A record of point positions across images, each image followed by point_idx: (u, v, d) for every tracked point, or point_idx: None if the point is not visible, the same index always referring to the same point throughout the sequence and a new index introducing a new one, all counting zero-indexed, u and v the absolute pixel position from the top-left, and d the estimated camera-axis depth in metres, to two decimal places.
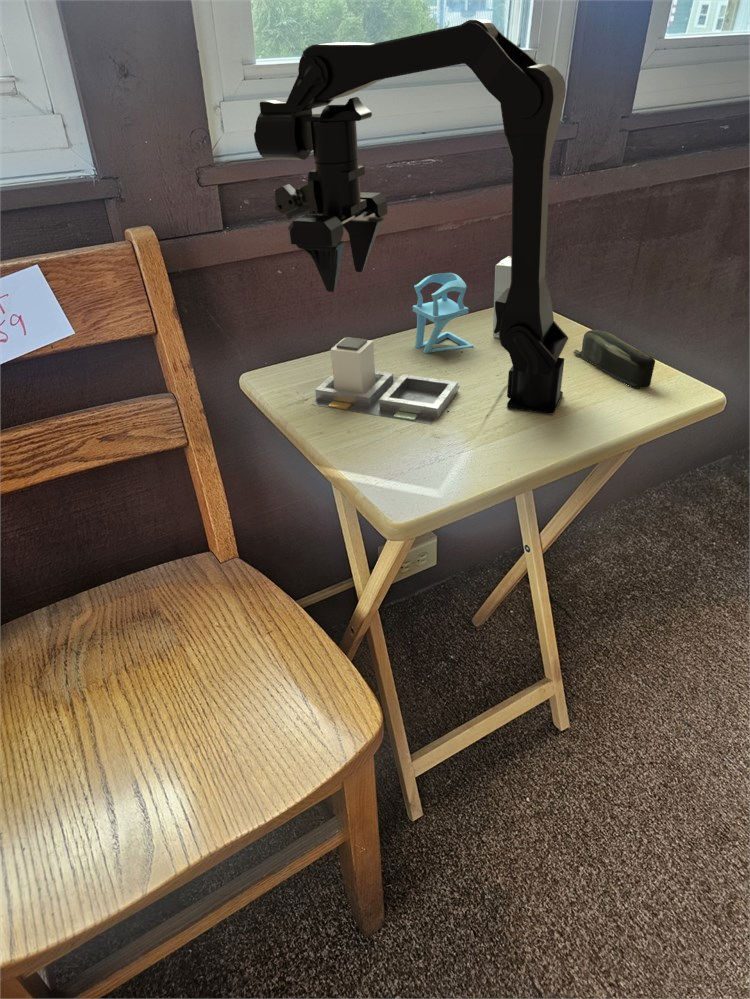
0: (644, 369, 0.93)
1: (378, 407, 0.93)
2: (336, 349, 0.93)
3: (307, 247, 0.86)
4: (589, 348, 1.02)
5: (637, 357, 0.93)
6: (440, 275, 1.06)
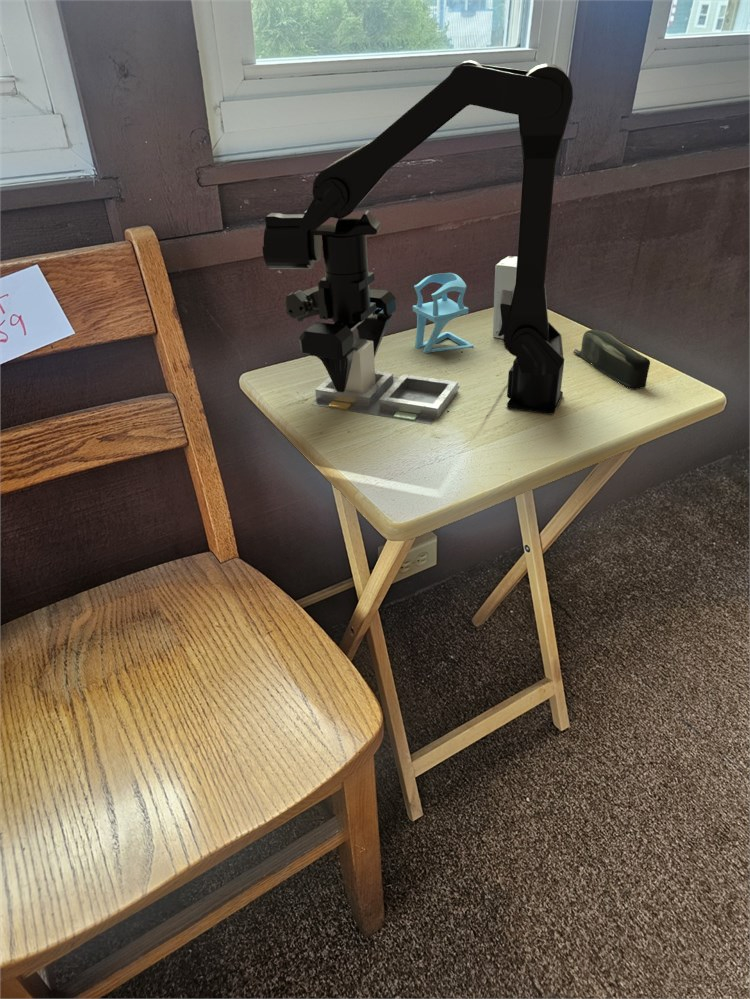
0: (639, 370, 0.93)
1: (378, 407, 0.93)
2: None
3: (318, 355, 0.87)
4: (588, 348, 1.02)
5: (632, 358, 0.94)
6: (440, 275, 1.06)
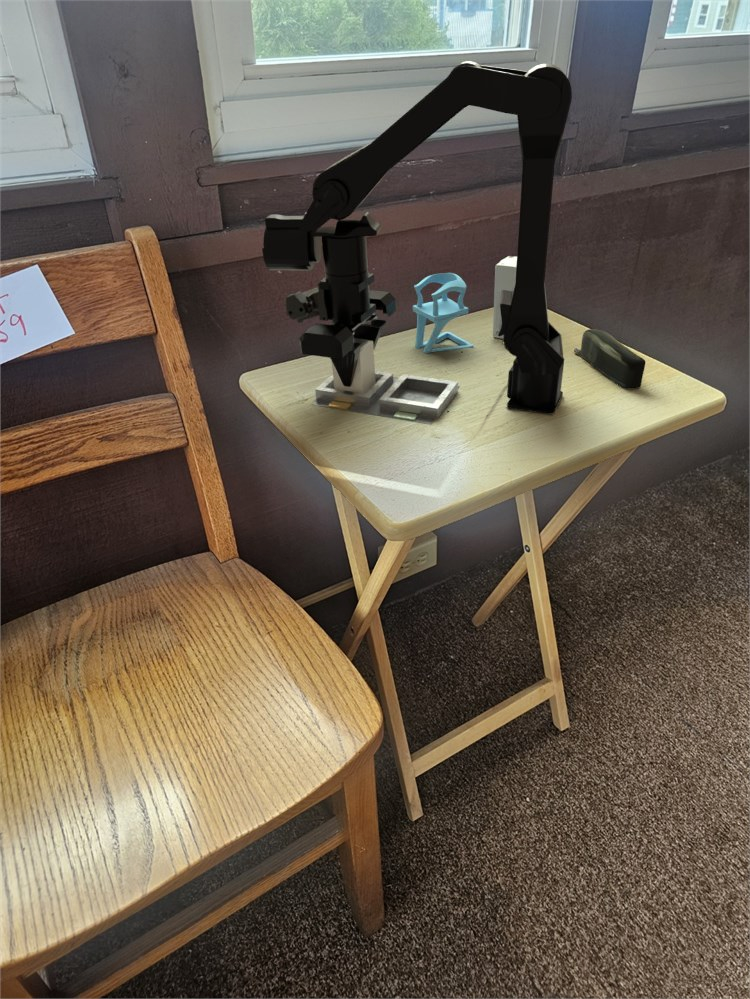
0: (634, 369, 0.93)
1: (378, 407, 0.93)
2: None
3: None
4: (587, 347, 1.02)
5: (628, 358, 0.94)
6: (440, 275, 1.06)
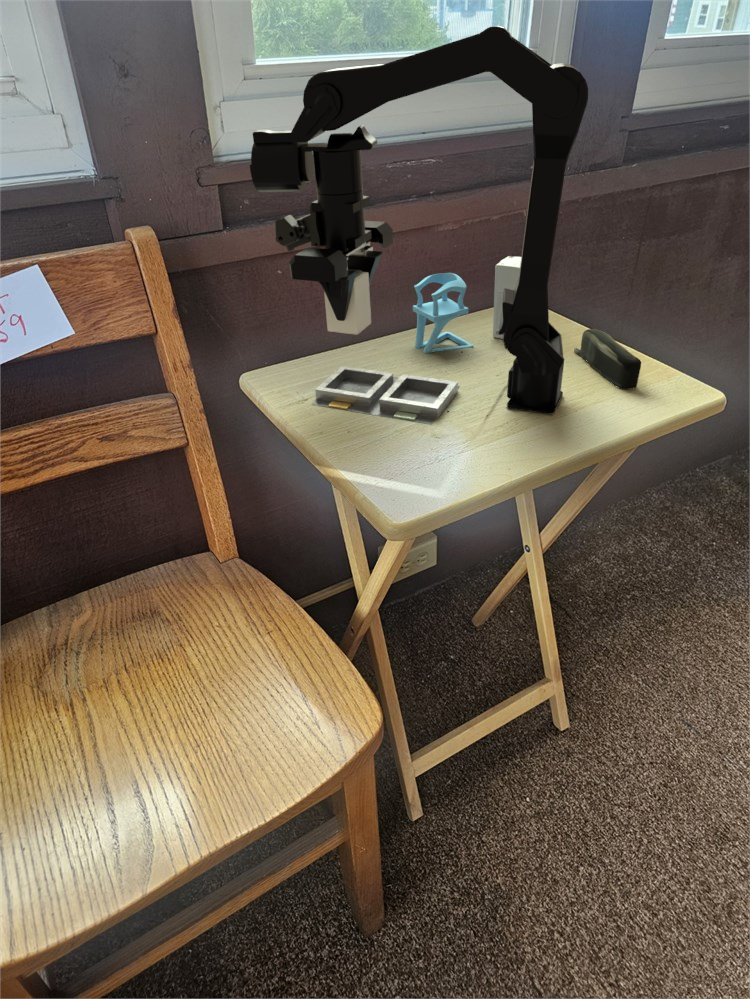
0: (629, 370, 0.93)
1: (378, 407, 0.93)
2: None
3: None
4: (586, 347, 1.03)
5: (623, 358, 0.94)
6: (440, 275, 1.06)
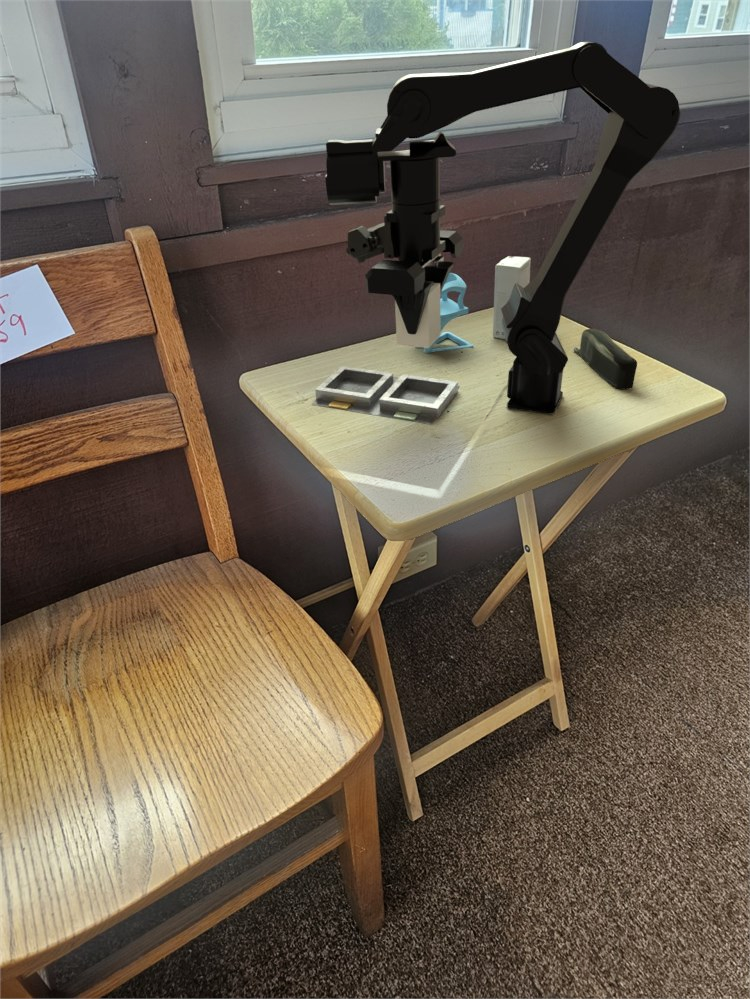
0: (625, 370, 0.94)
1: (378, 407, 0.93)
2: None
3: None
4: (585, 347, 1.03)
5: (619, 358, 0.94)
6: None
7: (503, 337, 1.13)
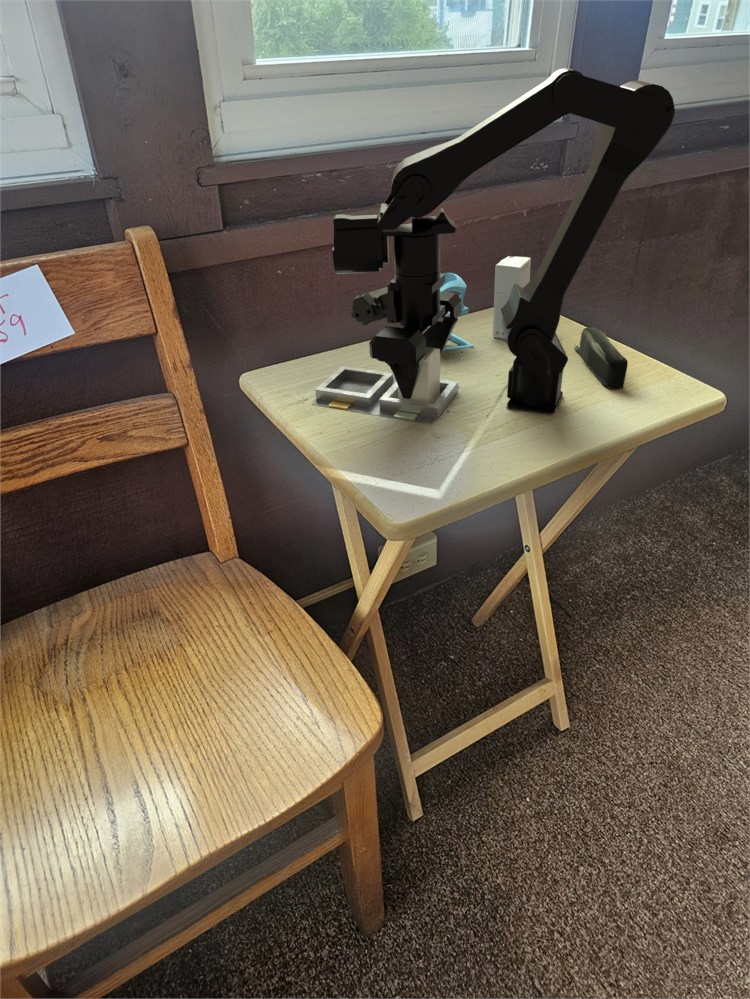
0: (615, 369, 0.94)
1: (378, 407, 0.93)
2: None
3: (388, 360, 0.83)
4: (583, 345, 1.03)
5: (610, 357, 0.94)
6: None
7: (503, 337, 1.13)
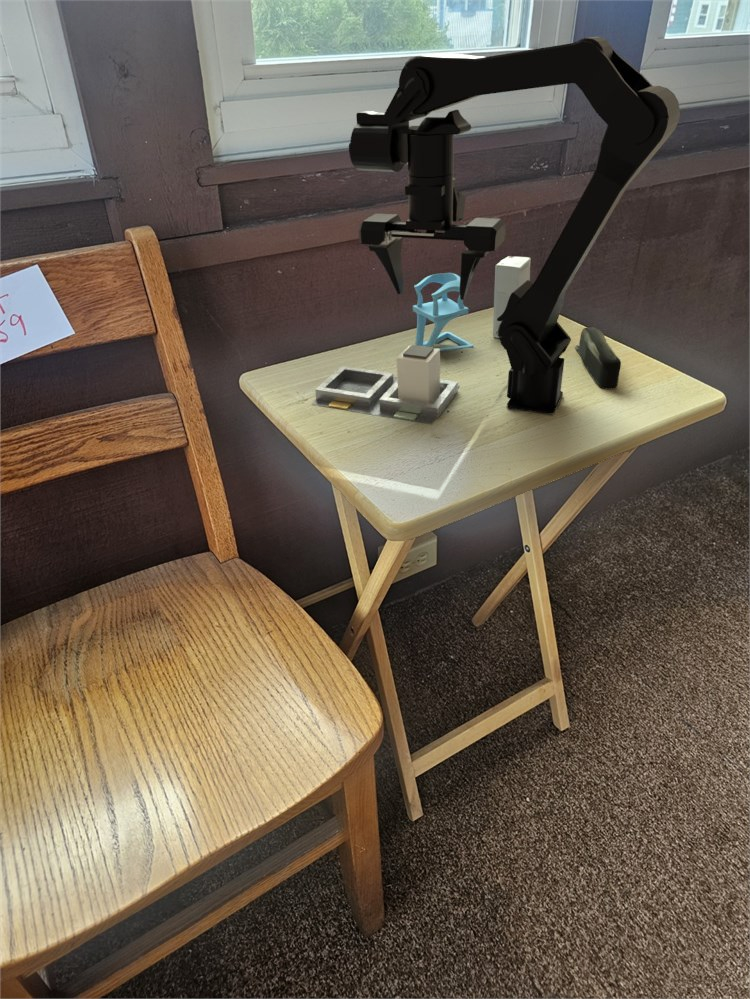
0: (608, 369, 0.94)
1: (378, 407, 0.93)
2: (403, 358, 0.89)
3: None
4: (582, 345, 1.04)
5: (604, 357, 0.94)
6: (440, 275, 1.06)
7: None
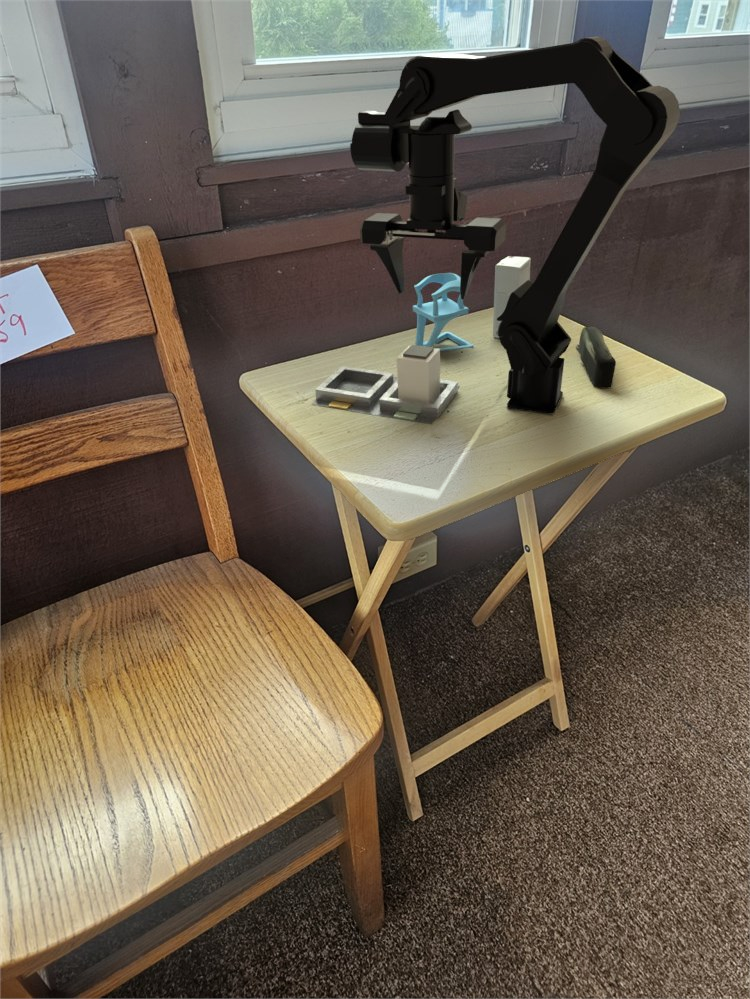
0: (602, 369, 0.94)
1: (378, 407, 0.93)
2: (403, 358, 0.89)
3: None
4: (581, 344, 1.04)
5: (599, 356, 0.95)
6: (440, 275, 1.06)
7: None
